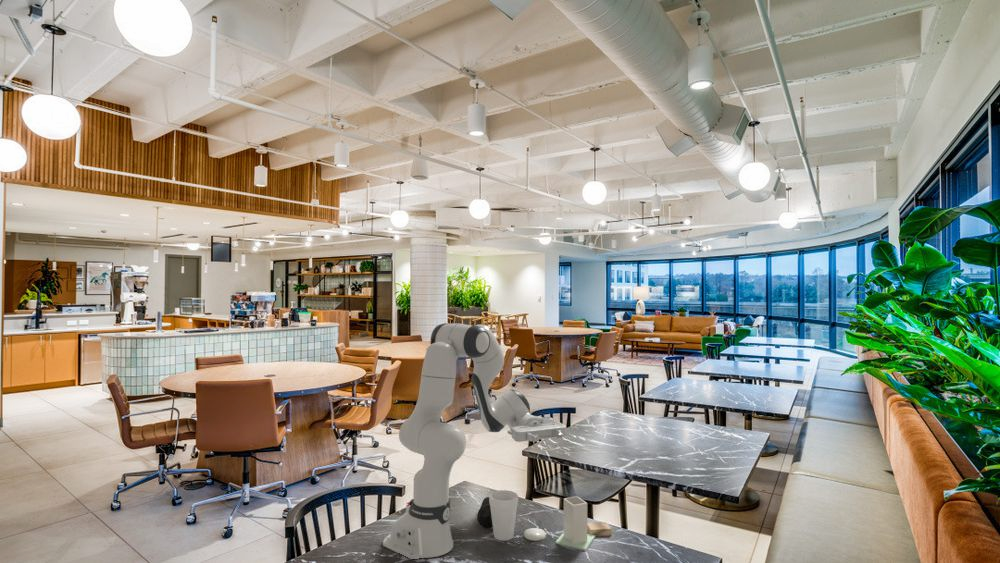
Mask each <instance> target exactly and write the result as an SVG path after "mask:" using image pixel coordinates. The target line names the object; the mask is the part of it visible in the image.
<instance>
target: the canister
mask: <svg viewBox="0 0 1000 563" xmlns="http://www.w3.org/2000/svg"><path fill="white" fill-rule="evenodd" d="M587 523H588V502H586V501H585V500H584V499H582V498H581V497H579V496H572V497H565V498H563V532H564V537H565V538H567V539H568V540H569V541H570V542H571V543H572V544H577V543H582V542H587V534H588V531H587Z"/></svg>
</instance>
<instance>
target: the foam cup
mask: <svg viewBox="0 0 1000 563" xmlns="http://www.w3.org/2000/svg"><path fill="white" fill-rule="evenodd" d="M488 497H489V503H490V508H491V517H492V525H493V528H492V531H493V537H494V539H496V540H498V541H509V540H512V539H513V538H514V533H515V525H516V518H517V509H518V504H519V495H518V493H516V492H514V491H512V490H506V489H504V490H503V489H501V490H496V491H493V492H491V493H490V494H489V496H488Z"/></svg>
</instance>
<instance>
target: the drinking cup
mask: <svg viewBox="0 0 1000 563" xmlns="http://www.w3.org/2000/svg"><path fill="white" fill-rule="evenodd" d="M476 519H477V523H478V524H479V525H480V526H481V527H482V528H485V529H493V525H492V517H491V508H490V503H489V496H488V497H485V498H483V500H482V502H481V505H480V508H479V509H478V512H477V514H476Z"/></svg>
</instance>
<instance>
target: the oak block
mask: <svg viewBox="0 0 1000 563" xmlns="http://www.w3.org/2000/svg"><path fill="white" fill-rule="evenodd" d="M604 523H606V524H604ZM587 534H591V535H595V537H605V536H608V537H609V536H612V528H611V526H610V524H609V523H608V522H607V521H598V522H587Z"/></svg>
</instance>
